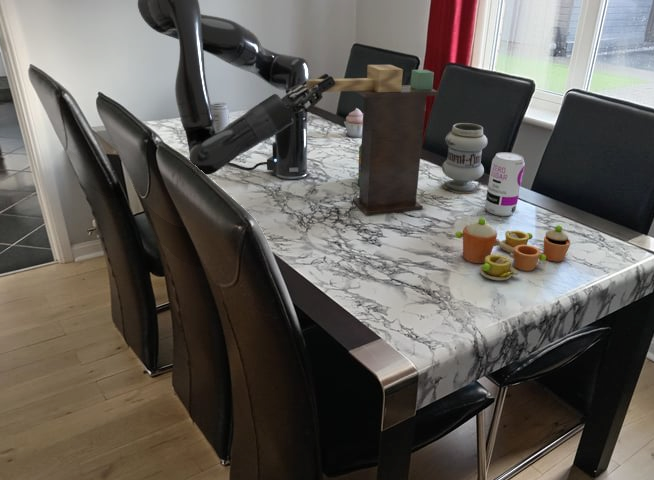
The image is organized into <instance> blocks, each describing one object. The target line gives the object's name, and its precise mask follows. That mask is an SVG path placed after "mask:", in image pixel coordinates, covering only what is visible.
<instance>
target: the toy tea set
mask: <svg viewBox="0 0 654 480" xmlns="http://www.w3.org/2000/svg"><path fill="white" fill-rule="evenodd" d="M504 235H505V236H504V237H505V239H503V240H501V241H500V238H497V237H498V232H497V230H496V229H494V227H493V226H492V225H491V224H489V223H487V222H486V219H485V218H484V217H481V218H479V219H478V221H475V222H472V223H469V224H468V225H465V226H464V228H463V229H462V231H457V232H455V237H456V238H457V239H461V238H462V257H463V259H464V260H466V261H467V262H470V263H473V264H483V265H481V266H480V268H479V273H480V274H481V275H482V276H483V277H484V278H486V279H489V280H493V281H506V280H508V279H510V278H511V277H512V276H518V274H519V271H518V270H520V271H524V272H530V271H533V270H534V269H535V268H536V266H537V264H538V262H539V261H541V262H545V261H546V260H547V261H551V262H556V263H557V262H558V263H559V262H562V261H564V260H565V258H566V256H567V253H568V250H569V249H570V246H571V244H572V242H571V240H570V239H569V235H568V234H567V233H566V232H565V231H563V227H562V225H559V224H558V225H556V226H555V228H553V229H550V230H547V231H545V236H544V237H543V252H542V251H541V250H540V249H539V248H538V247H536V246H534V245H530V244H528V242H529V241H530V240H531V239H533V237H534V236H533V233H531V232H524V231H521V230H506V231H505V234H504ZM497 246H499V247H500V248H501V249H502V250H504V252H507V253H509V255H508V256H509V257H510V258H512V259H513V262H512V261H511V259H510V258H509V257H507V256H504V255H500V254H492V251H493V248H494V247H497ZM541 252H542V253H541ZM513 265H514V267H515V268H513V267H512V266H513ZM517 269H518V270H517Z"/></svg>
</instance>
